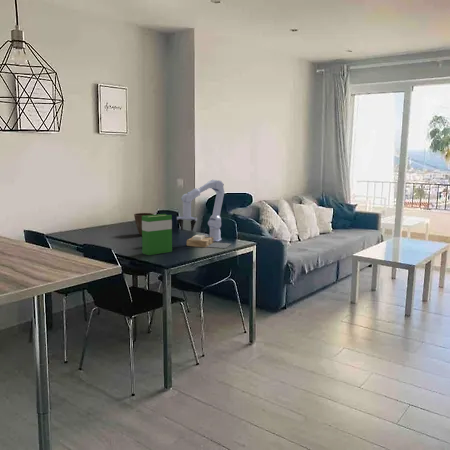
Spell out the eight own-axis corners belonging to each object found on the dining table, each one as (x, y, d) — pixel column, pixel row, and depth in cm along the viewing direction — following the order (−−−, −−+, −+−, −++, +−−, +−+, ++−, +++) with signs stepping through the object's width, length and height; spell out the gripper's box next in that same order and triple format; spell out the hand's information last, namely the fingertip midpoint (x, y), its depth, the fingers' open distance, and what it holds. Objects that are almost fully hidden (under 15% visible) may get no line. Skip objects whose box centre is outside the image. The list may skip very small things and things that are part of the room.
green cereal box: (165, 249, 313) (165, 213, 309) (172, 251, 307) (171, 214, 304) (142, 253, 302) (141, 215, 298) (148, 255, 296) (147, 217, 292)
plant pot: (155, 235, 364) (155, 215, 361) (136, 236, 358) (136, 215, 356) (151, 232, 378) (151, 212, 375) (132, 233, 372) (132, 213, 370)
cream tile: (197, 237, 337) (197, 234, 336) (205, 237, 335) (205, 235, 335) (192, 239, 328) (192, 236, 328) (200, 240, 326) (200, 237, 326)
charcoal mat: (213, 243, 337) (213, 242, 337) (231, 244, 334) (231, 243, 334) (206, 247, 322) (206, 246, 322) (224, 248, 318) (224, 247, 318)
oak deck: (194, 241, 341) (194, 236, 341) (213, 242, 337) (213, 237, 337) (186, 245, 326) (186, 240, 326) (205, 247, 322) (205, 241, 322)
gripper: (175, 211, 329) (175, 230, 331) (194, 212, 325) (194, 231, 327) (178, 210, 336) (179, 229, 338) (198, 211, 332) (198, 230, 334)
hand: (187, 230), depth 333 cm, fingers open, 7 cm apart
